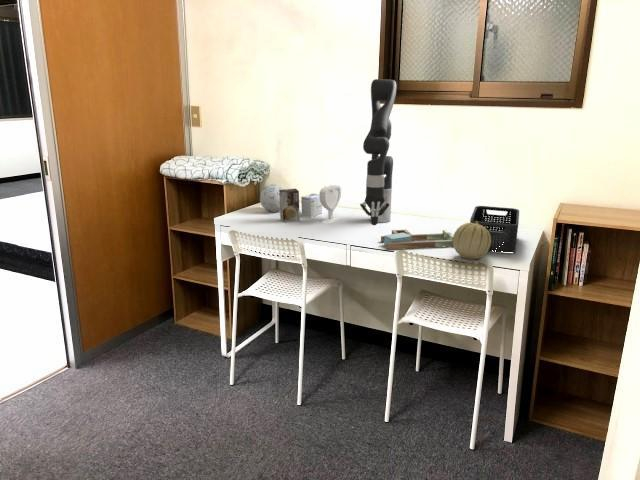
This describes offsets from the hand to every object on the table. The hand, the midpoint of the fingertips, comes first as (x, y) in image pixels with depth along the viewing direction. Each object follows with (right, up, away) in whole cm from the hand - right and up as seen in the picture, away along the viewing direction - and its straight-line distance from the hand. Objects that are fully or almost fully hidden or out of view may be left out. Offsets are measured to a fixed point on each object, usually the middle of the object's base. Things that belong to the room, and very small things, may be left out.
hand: (374, 224), depth 218 cm
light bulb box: (-28, +7, +57) cm, 63 cm away
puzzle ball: (-49, +9, +64) cm, 81 cm away
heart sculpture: (-18, +4, +46) cm, 49 cm away
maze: (+19, -7, +10) cm, 23 cm away
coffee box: (-39, +3, +45) cm, 60 cm away
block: (+11, -9, +5) cm, 15 cm away
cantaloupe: (+38, -14, -12) cm, 42 cm away
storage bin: (+54, -8, +7) cm, 55 cm away
